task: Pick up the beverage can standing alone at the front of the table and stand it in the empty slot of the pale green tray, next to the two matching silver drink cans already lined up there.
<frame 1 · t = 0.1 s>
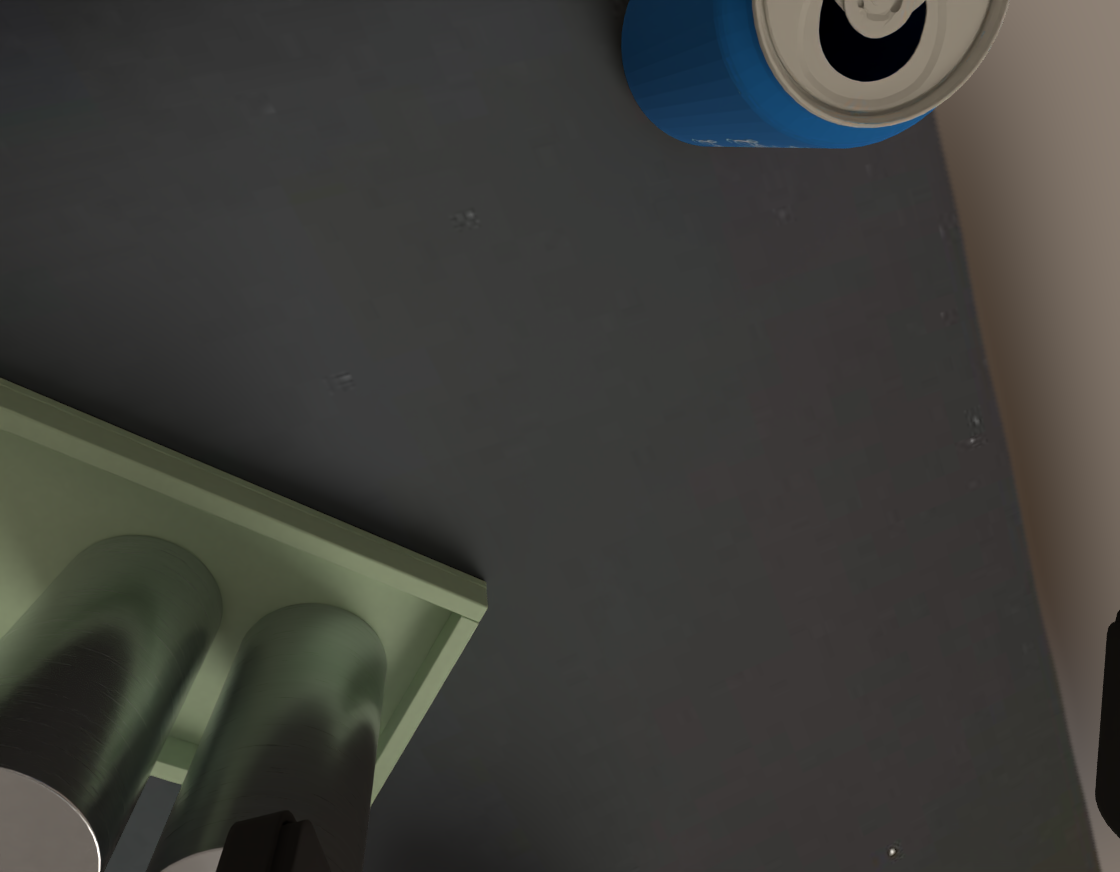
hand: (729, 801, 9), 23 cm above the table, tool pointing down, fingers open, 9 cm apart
can a: (142, 603, 31), resting on tray
can b: (312, 665, 33), resting on tray
tray: (95, 577, 31), on the table
beverage can: (707, 46, 28), on the table
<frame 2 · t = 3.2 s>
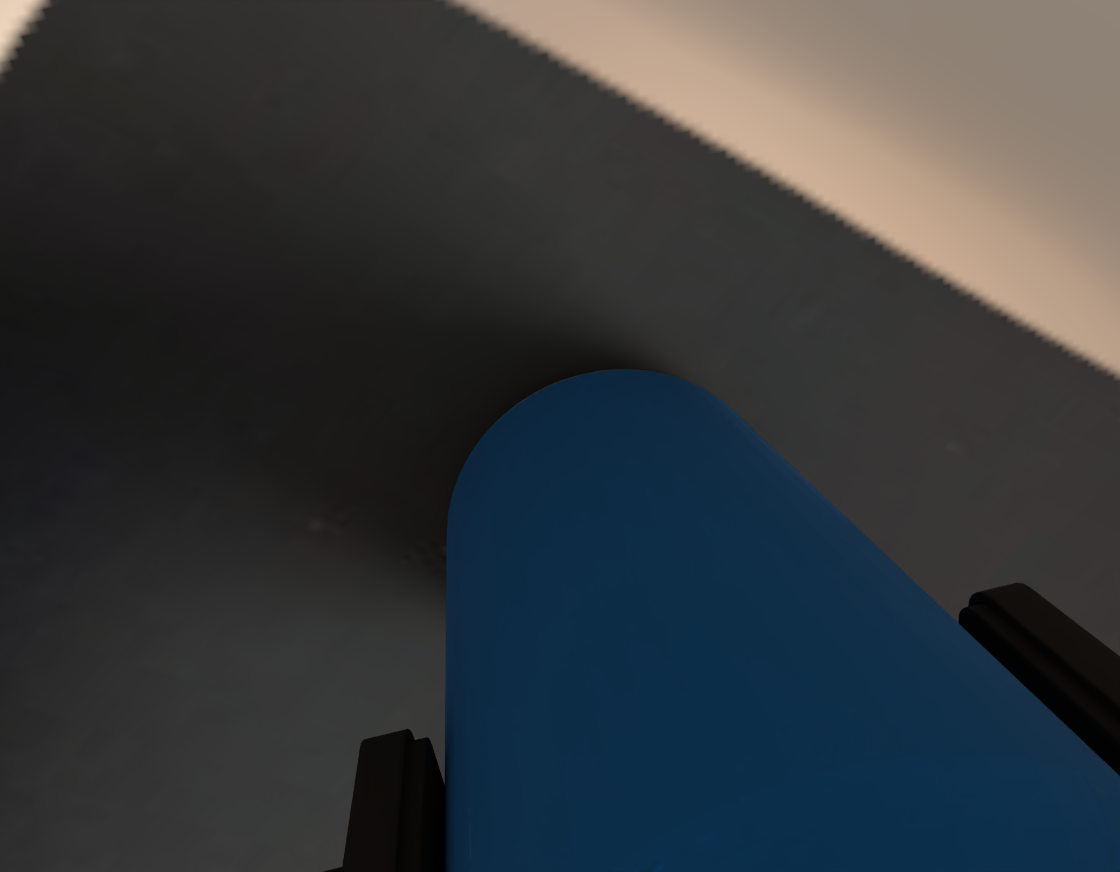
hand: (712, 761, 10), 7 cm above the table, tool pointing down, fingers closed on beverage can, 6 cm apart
beverage can: (605, 507, 17), on the table, touching gripper
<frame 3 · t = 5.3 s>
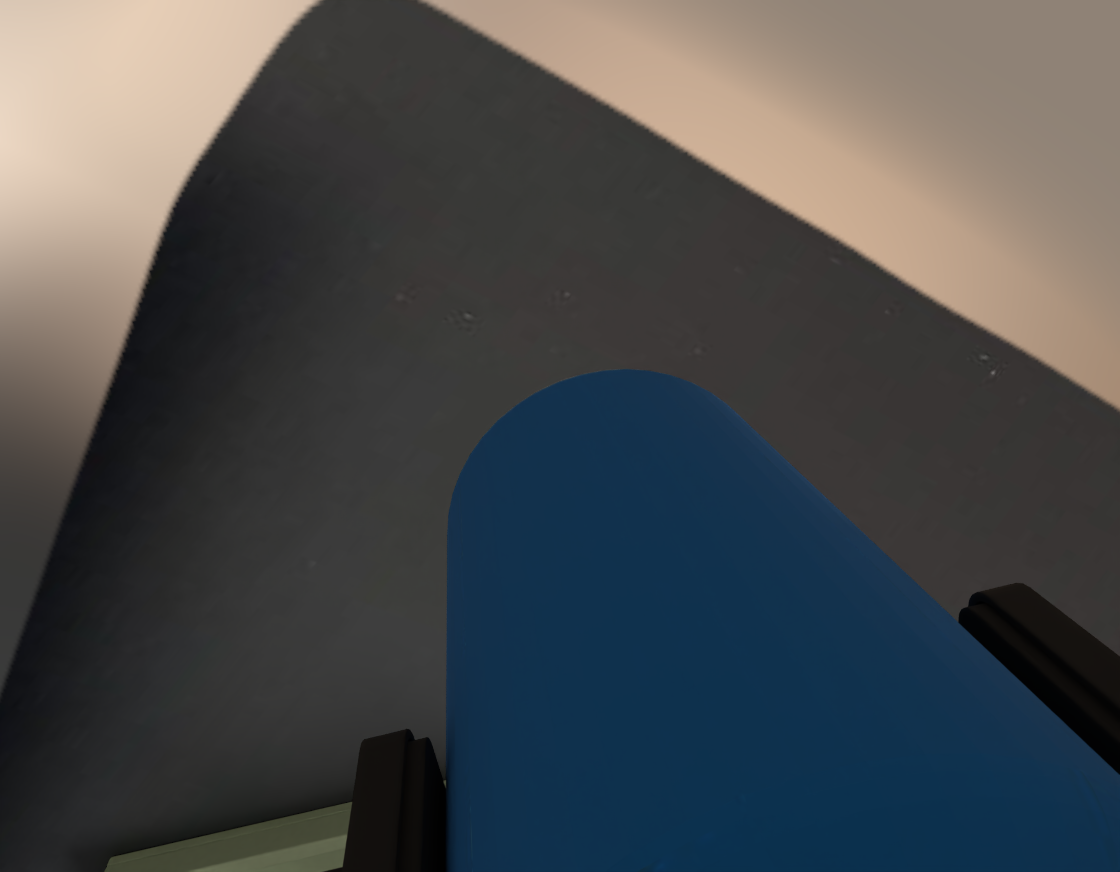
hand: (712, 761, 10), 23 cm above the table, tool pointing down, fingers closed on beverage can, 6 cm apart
beverage can: (605, 507, 17), point 16 cm above the table, touching gripper
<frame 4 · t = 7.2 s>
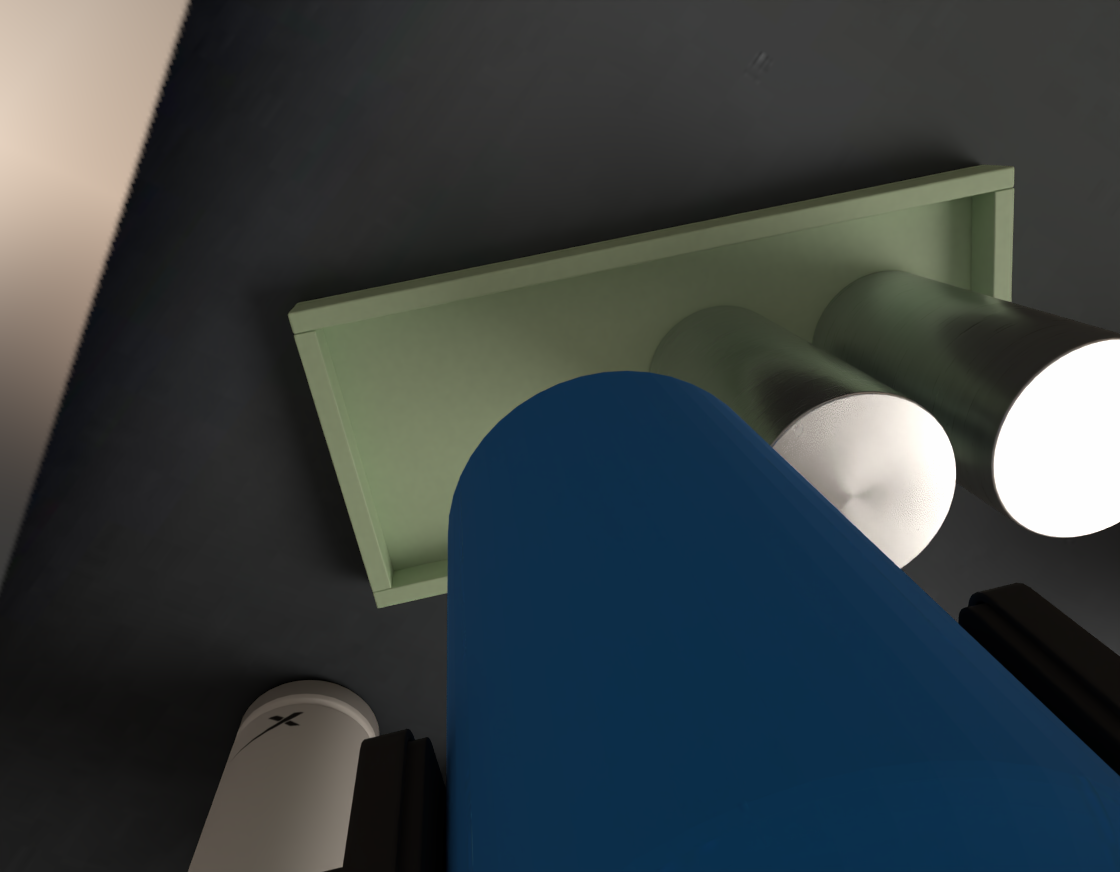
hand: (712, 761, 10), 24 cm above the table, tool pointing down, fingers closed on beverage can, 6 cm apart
can a: (718, 377, 33), resting on tray
can b: (879, 342, 34), resting on tray
tray: (668, 383, 34), on the table
beverage can: (606, 509, 17), point 17 cm above the table, touching gripper
travel mug: (308, 729, 37), on the table
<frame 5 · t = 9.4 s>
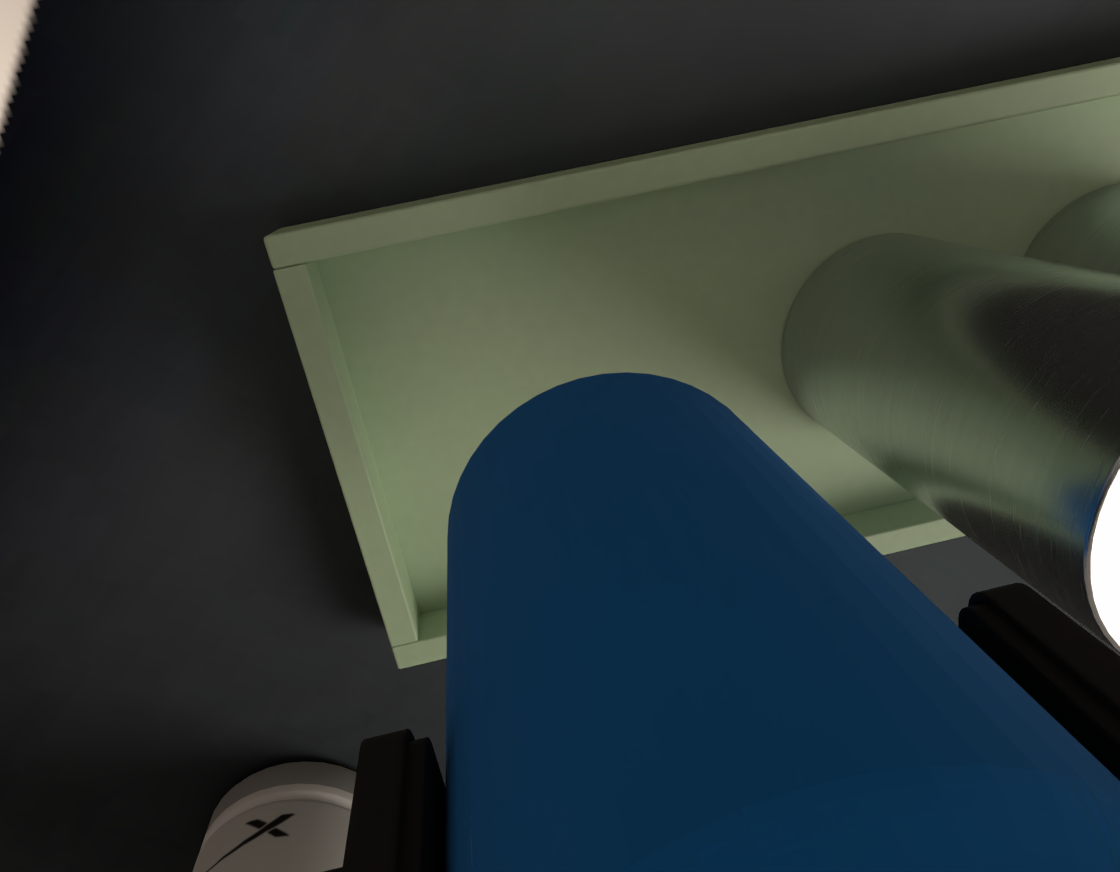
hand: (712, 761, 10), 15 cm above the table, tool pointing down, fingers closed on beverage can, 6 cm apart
can a: (879, 337, 23), resting on tray
can b: (1104, 288, 24), resting on tray
tray: (807, 348, 24), on the table
beverage can: (605, 510, 17), point 7 cm above the table, touching gripper
travel mug: (302, 824, 28), on the table
when the fingers open (8 cm above the table, at t = 11.5 s): beverage can stays where it is, resting on tray.
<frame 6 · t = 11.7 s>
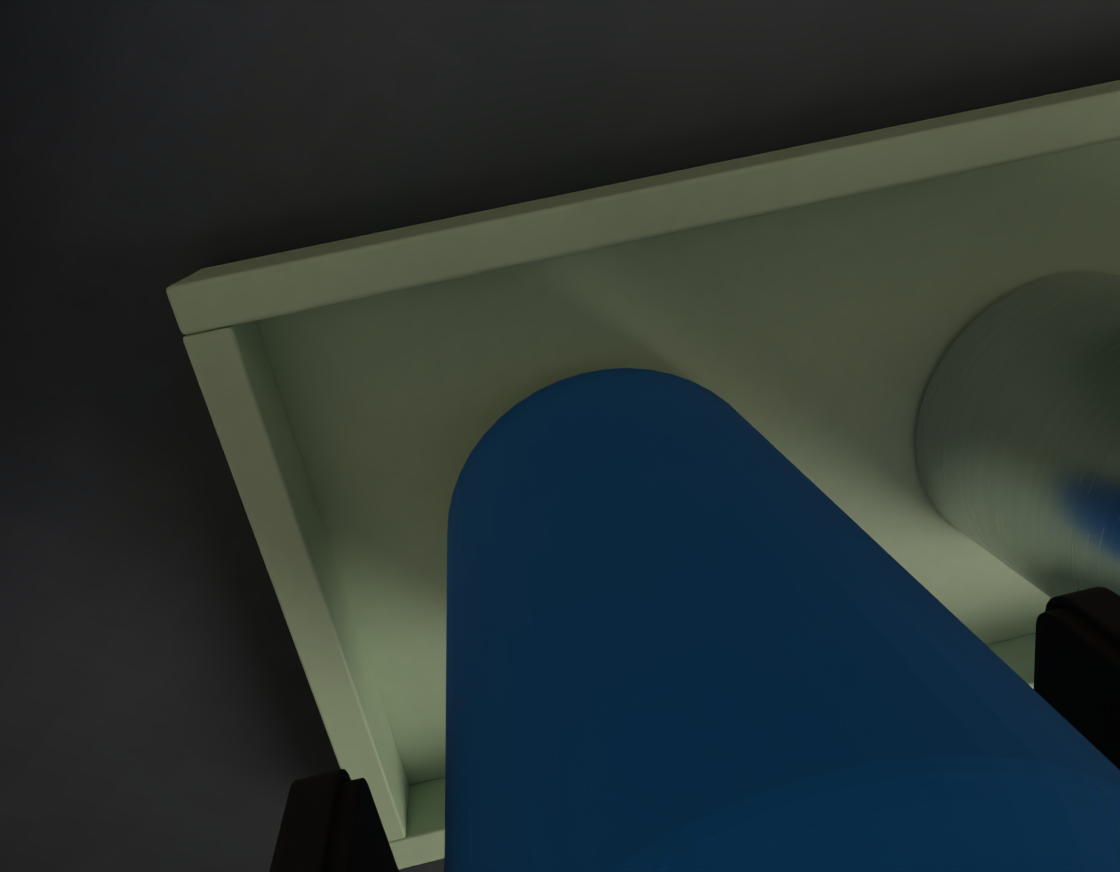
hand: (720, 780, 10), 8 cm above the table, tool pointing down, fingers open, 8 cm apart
can a: (1048, 415, 17), point 1 cm above the table, touching gripper, tray
tray: (943, 427, 17), on the table
beverage can: (606, 507, 17), resting on tray
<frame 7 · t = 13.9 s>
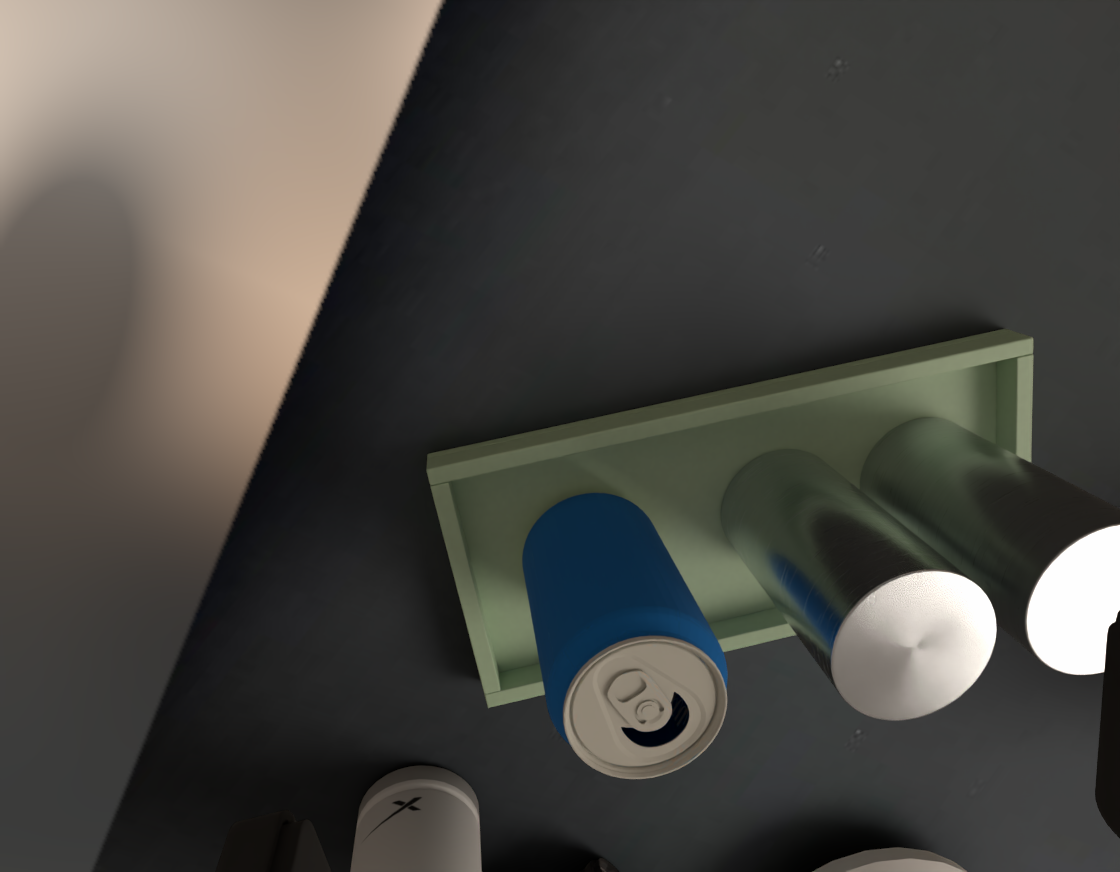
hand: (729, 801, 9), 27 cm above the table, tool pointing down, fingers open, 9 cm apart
can a: (780, 506, 39), resting on tray
can b: (918, 475, 39), resting on tray
tray: (737, 511, 39), on the table
beverage can: (588, 547, 38), resting on tray
travel mug: (416, 807, 43), on the table
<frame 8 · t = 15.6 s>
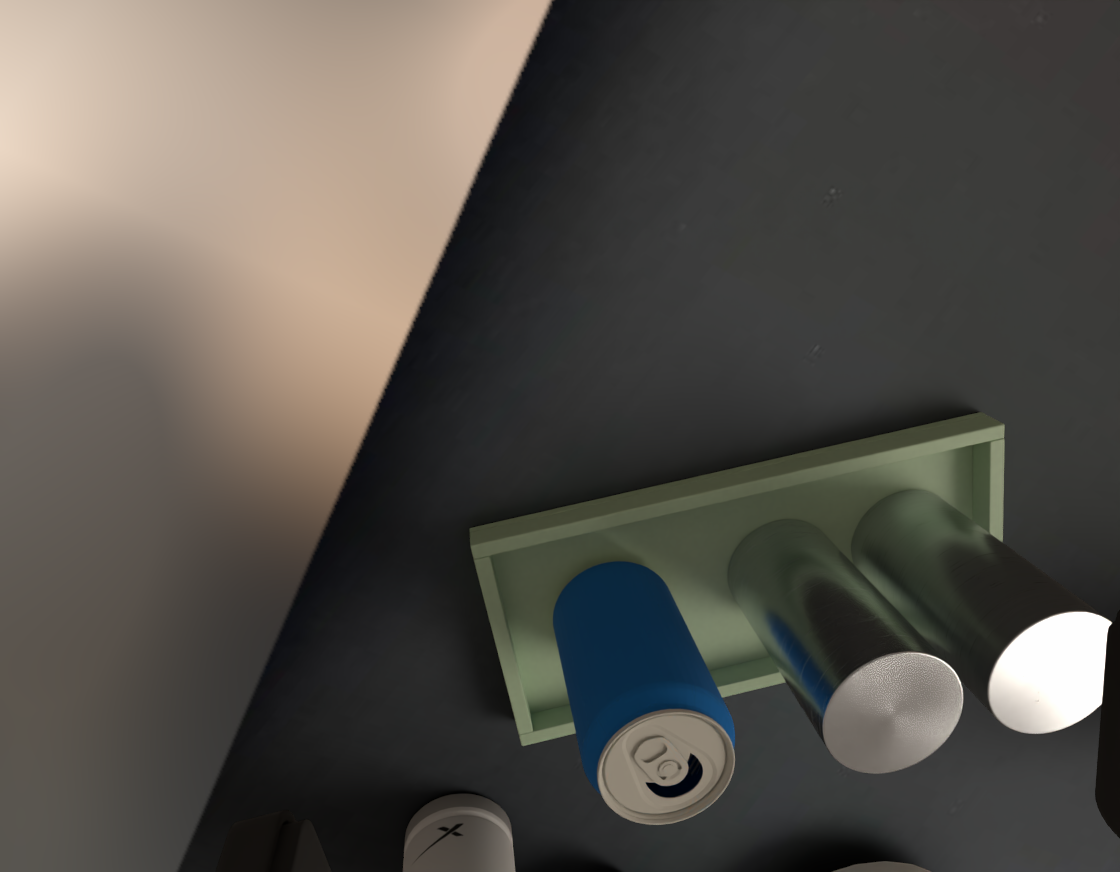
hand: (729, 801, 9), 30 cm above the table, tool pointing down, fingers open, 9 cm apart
can a: (780, 568, 44), resting on tray
can b: (903, 539, 44), resting on tray
tray: (741, 572, 44), on the table
beverage can: (610, 605, 43), resting on tray
travel mug: (456, 829, 48), on the table
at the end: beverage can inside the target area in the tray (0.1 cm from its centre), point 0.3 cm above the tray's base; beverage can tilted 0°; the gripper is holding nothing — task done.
